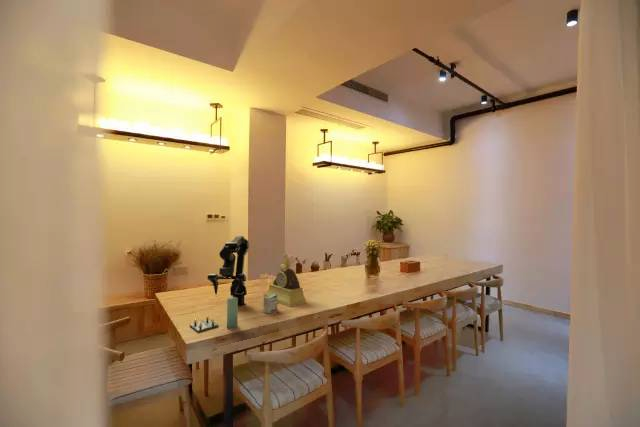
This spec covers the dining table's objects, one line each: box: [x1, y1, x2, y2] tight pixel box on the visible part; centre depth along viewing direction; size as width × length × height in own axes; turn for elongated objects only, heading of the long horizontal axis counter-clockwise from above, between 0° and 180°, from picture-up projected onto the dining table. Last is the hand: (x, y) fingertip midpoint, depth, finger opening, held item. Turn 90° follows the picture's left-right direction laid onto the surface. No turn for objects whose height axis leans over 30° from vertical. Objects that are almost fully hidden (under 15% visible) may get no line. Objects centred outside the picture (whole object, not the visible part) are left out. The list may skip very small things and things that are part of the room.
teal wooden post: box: [226, 296, 239, 330], centre depth 139 cm, size 5×5×14 cm
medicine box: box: [263, 294, 278, 314], centre depth 162 cm, size 8×4×9 cm, turn 158°
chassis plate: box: [189, 315, 219, 334], centre depth 139 cm, size 10×10×4 cm
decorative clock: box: [263, 253, 307, 308], centre depth 183 cm, size 28×13×30 cm, turn 45°
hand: (225, 294), depth 142 cm, fingers open, 9 cm apart
